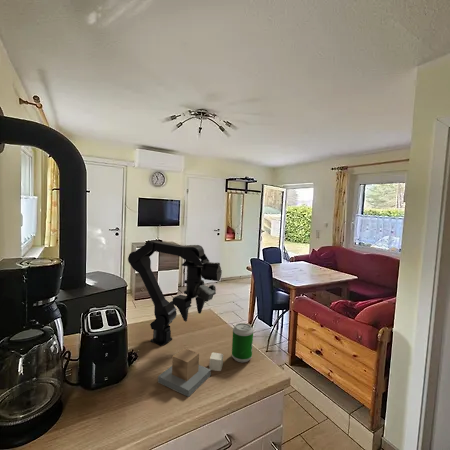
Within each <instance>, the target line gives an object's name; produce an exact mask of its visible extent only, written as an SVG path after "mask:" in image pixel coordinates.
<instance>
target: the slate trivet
mask: <svg viewBox="0 0 450 450" xmlns="http://www.w3.org/2000/svg"><path fill="white" fill-rule="evenodd" d="M211 376H212V370H211V369H209V368H207V367H205V366H204V365H200V364H199V370H198V372H197V373H196V374H195V375H194V376H192V377H191V378H190V379H189V380H188V381H185V380H183V379H181V378H179V377H176V376H174V375H172V365H171V366H169V367H168V368H167V369H166V370H165V371H163V372H162V373H160V374H159V375H158V376H157V383H158V384H161V385H163V386H164V387H166V388H169V389H171V390H172V391H175V392H177V393H179V394H181V395H184V396H185V397H188V398H190V397H191V396H192V395H193V393H194V392H195V391H196V390H198V389H199V388H200V387H201V386H202V384H204V383H205V382H206V381H207V380H208V379H209V378H210V377H211Z"/></svg>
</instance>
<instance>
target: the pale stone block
mask: <svg viewBox="0 0 450 450" xmlns="http://www.w3.org/2000/svg"><path fill="white" fill-rule="evenodd" d="M208 364H209V368H208V369H211V371H215V372H221V371H222V368H223V365H224V354H223V353H220V352H219V353H218V352H211V355H210V357H209V363H208Z"/></svg>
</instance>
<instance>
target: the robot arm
mask: <svg viewBox="0 0 450 450" xmlns="http://www.w3.org/2000/svg"><path fill="white" fill-rule="evenodd" d="M155 252H156V253H163V254H167V255H171V256H172V255H173V256H177V257H179V258H181V259H183V260H184V262H182V264H181V266H182V267H186V279H185V280H184V281H183V283H184V284H186V287H185V290H184V291H183V294H185V295H183V294H178V295H176V296H174V297H173V298H171V299H172V301H168V300H167V299H166V297H165V295H164V293H163V291H162V288H161V287H160V285H159V283H158V280H157V278H156V276H155V274H154V272H153V270H152V268H151V266H152V265H151V264H152V262H151V256H152V255H153V254H155ZM127 261H128V263H129V265H130V267H131V268H132V269H133V270H134V271H136V272H137V274H139V276H140V278H141V280H142V282H143V284H144V286H145V289H146V290H147V293H148V295H149V297H150V299H151V302H152V303H153V306H154V313H153V315H154V316H155V319H154V320H153V321H151V323H150V324H149V326H150V328H151V330H153V331H152V332H153V335H152V338H151V339H150V342H151V343H154V344H157V345H159V346H164V345H166V344H168V343H169V342H171V341H172V340H173V337H172V336H171V335H172V332H171V331H172V330H171V326H170V324H172V323H173V321H174V320H175V319H176V318H177V315H178V313H177V309H178V311H179V313H180V316H181V317H182V320H183V321H184V322H187V321H188V317H189V310H190V308H191V307H192V305H191V304H192V300H194V299H195V303H196V309H197V313H198V314H202V311H203V308H204V305H205V303H206V302H209V301H211V300H213V297H214V295H216V294H217V293H216V290H217V289H216V285H214V284H211V285H205V281H204V280H206V281H214V282H220V281H221V278H222V272H223V271H222V267H221V263H220V262H212V261H211V262H210V260H209V258H208V256H207V255H206V253H205V249H204V248H203V246H202V245H199V244H190V245H187V244H186V245H181V244H175V243H169V242H164V241H159V240H156V239H154V240H149V241H147V242H146V243H145V244H144V245H142V246H141V247H139V248H137V249H136V250H135V251H132V252H130V253H129V254H128V257H127ZM176 307H177V308H176Z"/></svg>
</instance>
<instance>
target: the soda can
mask: <svg viewBox="0 0 450 450" xmlns="http://www.w3.org/2000/svg"><path fill="white" fill-rule="evenodd" d="M231 341H232V343H231V356H232V357H231V358H233V359H234V361H236V362H238V363H247V362H249V361H250V360H251V359H252V357H253V343H254V342H253V341H254V329H253V327H252V326H251V325H250V324H248V323H243V322H241V323H236V324H235V325H234V326H233V328H232V340H231Z"/></svg>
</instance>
